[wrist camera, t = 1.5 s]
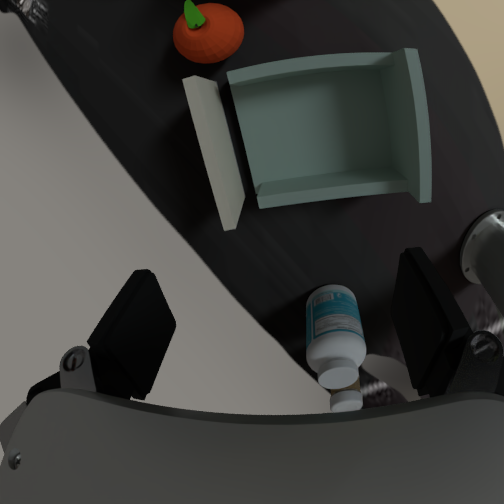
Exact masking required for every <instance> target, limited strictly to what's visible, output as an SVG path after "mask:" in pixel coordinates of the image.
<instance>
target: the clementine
mask: <svg viewBox="0 0 504 504" xmlns="http://www.w3.org/2000/svg"><path fill="white" fill-rule="evenodd" d="M243 37H244V26H243V23H242V20H241V18H240V17H239V15H238V14H237V13H236V12H235V11H233V10H232V9H230V8H229V7H227V6H225V5H222V4H218V3H206V4H199V5H197V6H195V5H194V4H193V3H192V1H191V0H186V1H185V4H184V13H183V14H182V15H181V16H180V17H179V19H178V20H177V22H176V24H175V27H174V30H173V40H174V44H175V47H176V48H177V50H178V51H179V53H181V54H182V55H183V56H184V57H186V58H187V59H189V60H191V61H194V62H197V63H216V62H219V61H222V60H224V59H226V58H228V57H229V56H231V55H232V54H233V53H234V52H235V51H236V50H237V49H238V48H239V46H240V45H241V43H242V40H243Z"/></svg>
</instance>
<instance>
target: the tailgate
mask: <svg viewBox="0 0 504 504" xmlns="http://www.w3.org/2000/svg"><path fill="white" fill-rule="evenodd" d="M182 80H183V84H184V88H185V92H186V96H187V100H188V103H189V107H190V111H191V115H192V118H193V122H194V126H195V130H196V133H197V137H198V141H199V144H200V148H201V151H202V155H203V159H204V162H205V166H206V169H207V173H208V177H209V180H210V184H211V187H212V191H213V194H214V198H215V201H216V204H217V208H218V211H219V215H220V218H221V222H222V225H223V228H224V231H225V230H231V229H236V225H237V222H238V219H239V215H240V212H241V209H242V205H243V202H244V199H245V197H246V196H245V192H244V188H243V184H242V180H241V176H240V172H239V168H238V164H237V160H236V156H235V152H234V148H233V144H232V140H231V136H230V132H229V128H228V124H227V120H226V116H225V112H224V108H223V104H222V100H221V97H220V93H219V89H218V85H217V81H211V80H208V79H205V78H202V77H198V76H195V75H194V76H191V77H188V78H185V79H182Z"/></svg>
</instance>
